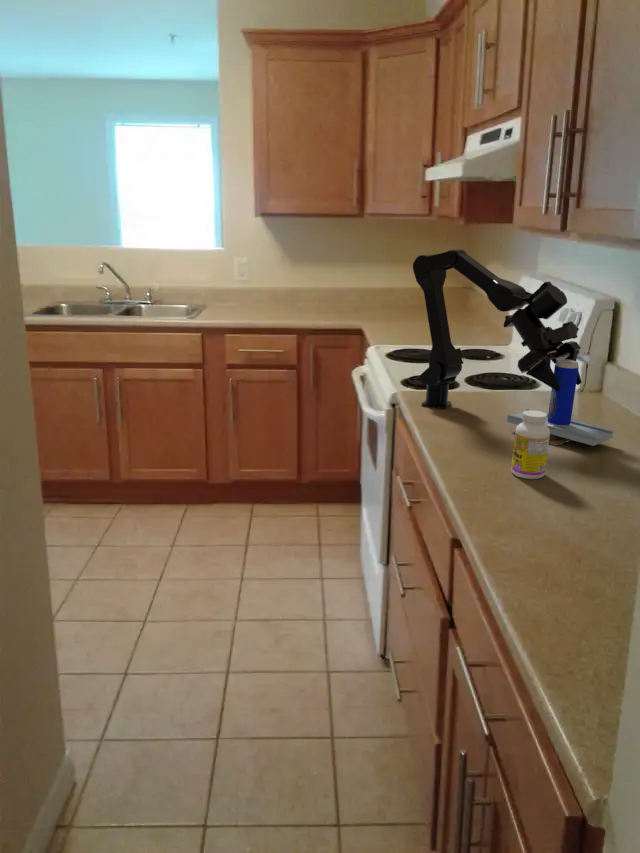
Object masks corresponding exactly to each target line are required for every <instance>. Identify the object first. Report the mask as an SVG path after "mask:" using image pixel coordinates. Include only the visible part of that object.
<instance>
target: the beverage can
mask: <svg viewBox="0 0 640 853" xmlns="http://www.w3.org/2000/svg"><path fill="white" fill-rule="evenodd" d="M579 368H580V367H579V362H578V361H577V360H576V361H573V360H567V359H559V360H557V361H556V363H554V368H553V369H554V370H553V373H554V375H555V377H556V379H557V380H558V382H559V384H560V387H561V389H560V390H559V391H556V390H554V389H553V388H551V390H550V391H551V392H550V398H549V405H548V406H549V407H548V413H547V414H548V420H547V421H548V423H549V424H550V425H554V426H555V427H568V426H569V425H570V423H571V419H572V416H573V415H572V414H573V409H574V403H575V402H574V400H575V394H576V389H577V384H576V382H577V375H578V371H579Z"/></svg>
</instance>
